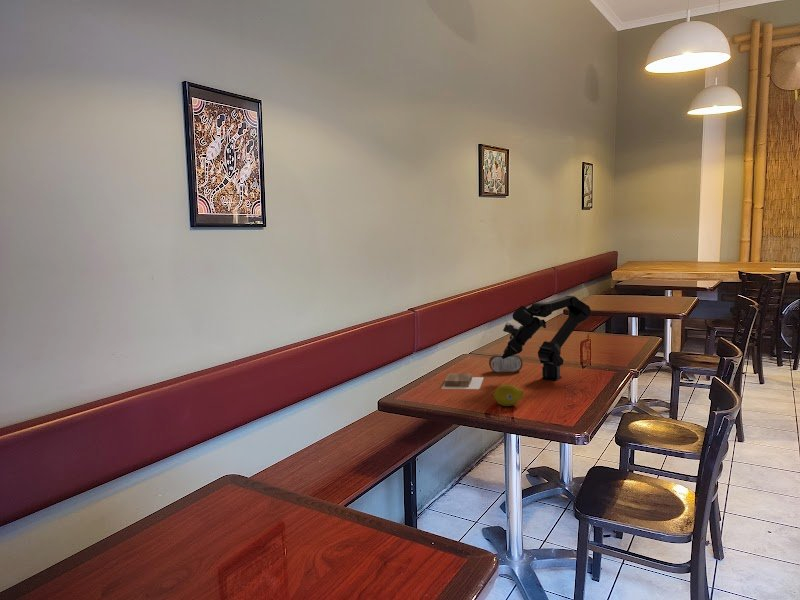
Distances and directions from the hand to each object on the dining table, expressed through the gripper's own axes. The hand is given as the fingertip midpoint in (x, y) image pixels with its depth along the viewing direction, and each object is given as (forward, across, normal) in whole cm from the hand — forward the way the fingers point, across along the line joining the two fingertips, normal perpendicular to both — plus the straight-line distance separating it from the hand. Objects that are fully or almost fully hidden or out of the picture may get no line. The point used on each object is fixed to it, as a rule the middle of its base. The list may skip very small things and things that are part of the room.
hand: (503, 355), depth 244 cm
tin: (+9, -16, +8) cm, 20 cm away
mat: (+20, +4, -4) cm, 21 cm away
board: (+17, +4, -3) cm, 17 cm away
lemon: (+5, +32, +11) cm, 34 cm away
